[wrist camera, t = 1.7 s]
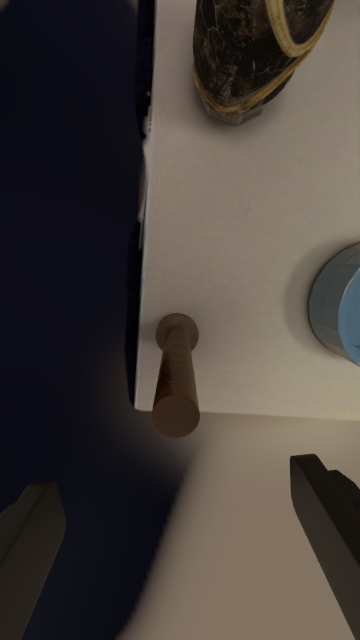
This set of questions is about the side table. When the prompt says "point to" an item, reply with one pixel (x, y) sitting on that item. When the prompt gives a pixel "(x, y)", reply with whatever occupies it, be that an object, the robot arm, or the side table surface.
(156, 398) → the brown wooden peg
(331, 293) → the bowl
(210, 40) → the lantern
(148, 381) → the side table surface
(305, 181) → the side table surface
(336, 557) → the robot arm
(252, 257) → the side table surface
